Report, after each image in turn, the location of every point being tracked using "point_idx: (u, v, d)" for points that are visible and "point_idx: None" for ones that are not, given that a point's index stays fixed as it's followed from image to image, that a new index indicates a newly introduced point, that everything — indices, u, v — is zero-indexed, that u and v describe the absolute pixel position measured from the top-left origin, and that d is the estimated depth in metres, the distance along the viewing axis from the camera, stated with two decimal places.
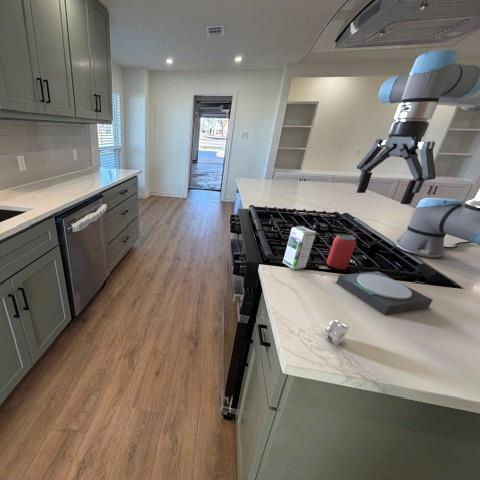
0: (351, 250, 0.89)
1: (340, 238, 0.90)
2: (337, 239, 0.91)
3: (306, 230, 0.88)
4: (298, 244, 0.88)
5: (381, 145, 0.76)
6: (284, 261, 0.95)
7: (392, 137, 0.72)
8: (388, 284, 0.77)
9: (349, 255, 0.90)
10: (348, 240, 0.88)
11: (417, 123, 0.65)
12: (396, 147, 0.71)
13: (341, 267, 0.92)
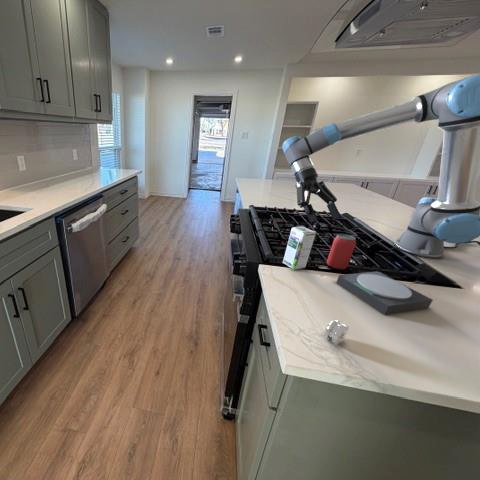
0: (351, 250, 0.89)
1: (340, 238, 0.90)
2: (337, 239, 0.91)
3: (306, 230, 0.88)
4: (298, 244, 0.88)
5: None
6: (284, 261, 0.95)
7: None
8: (388, 284, 0.77)
9: (349, 255, 0.90)
10: (348, 240, 0.88)
11: (295, 176, 1.03)
12: None
13: (341, 267, 0.92)
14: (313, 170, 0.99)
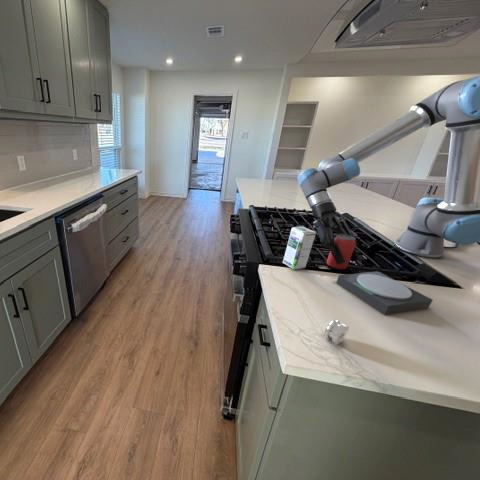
0: (351, 250, 0.89)
1: (340, 238, 0.90)
2: (337, 239, 0.91)
3: (306, 230, 0.88)
4: (298, 244, 0.88)
5: None
6: (284, 261, 0.95)
7: None
8: (388, 284, 0.77)
9: (349, 255, 0.90)
10: (348, 240, 0.88)
11: (312, 210, 0.99)
12: None
13: (341, 267, 0.92)
14: (331, 204, 0.94)
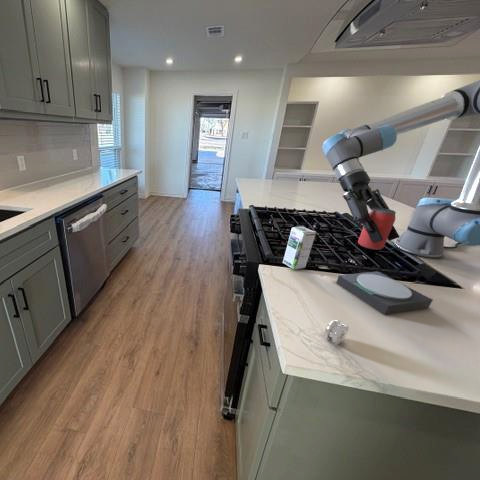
0: (390, 226, 0.75)
1: (377, 212, 0.76)
2: (373, 213, 0.77)
3: (306, 230, 0.88)
4: (298, 244, 0.88)
5: None
6: (284, 261, 0.95)
7: None
8: (388, 284, 0.77)
9: (387, 232, 0.76)
10: (387, 213, 0.74)
11: (340, 181, 0.85)
12: None
13: (377, 247, 0.78)
14: (364, 173, 0.80)
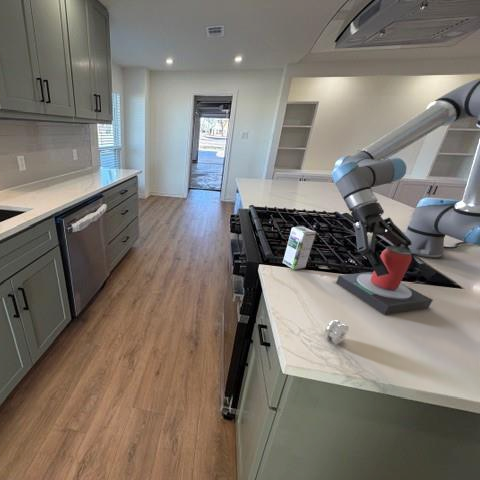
0: (406, 267, 0.71)
1: (392, 252, 0.72)
2: (387, 253, 0.73)
3: (306, 230, 0.88)
4: (298, 244, 0.88)
5: None
6: (284, 261, 0.95)
7: None
8: None
9: (403, 273, 0.72)
10: (403, 254, 0.70)
11: (352, 212, 0.80)
12: None
13: (391, 287, 0.74)
14: (377, 206, 0.76)
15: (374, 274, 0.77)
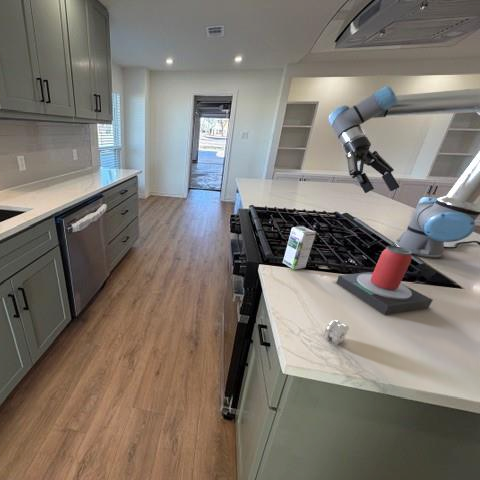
0: (406, 267, 0.71)
1: (392, 252, 0.72)
2: (387, 253, 0.73)
3: (306, 230, 0.88)
4: (298, 244, 0.88)
5: None
6: (284, 261, 0.95)
7: None
8: None
9: (403, 273, 0.72)
10: (403, 254, 0.70)
11: (345, 147, 0.97)
12: None
13: (391, 287, 0.74)
14: (365, 139, 0.93)
15: (374, 274, 0.77)
